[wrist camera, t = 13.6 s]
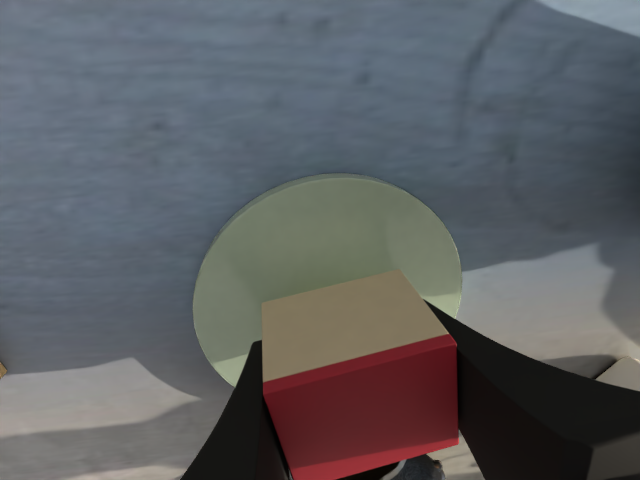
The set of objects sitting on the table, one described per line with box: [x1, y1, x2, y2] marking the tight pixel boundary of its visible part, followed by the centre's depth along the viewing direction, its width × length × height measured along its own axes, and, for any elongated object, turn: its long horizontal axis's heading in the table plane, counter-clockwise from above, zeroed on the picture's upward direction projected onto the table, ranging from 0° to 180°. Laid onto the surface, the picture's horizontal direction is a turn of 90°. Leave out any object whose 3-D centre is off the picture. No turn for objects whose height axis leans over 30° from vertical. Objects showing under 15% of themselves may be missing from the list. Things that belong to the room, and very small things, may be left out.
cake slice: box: [261, 269, 459, 480], centre depth 11 cm, size 5×4×4 cm
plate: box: [193, 173, 462, 388], centre depth 15 cm, size 11×11×1 cm
